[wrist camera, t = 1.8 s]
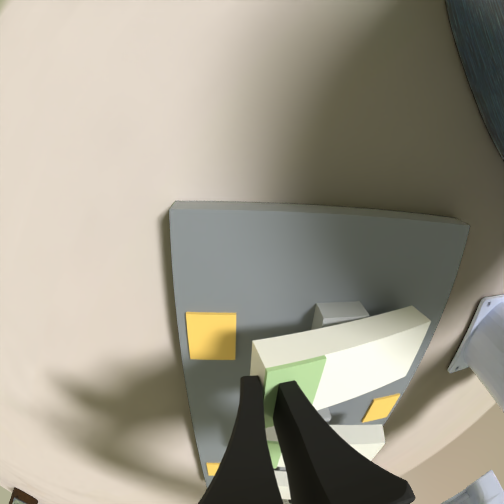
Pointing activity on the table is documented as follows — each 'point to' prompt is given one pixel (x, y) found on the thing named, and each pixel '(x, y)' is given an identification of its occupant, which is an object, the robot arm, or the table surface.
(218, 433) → the switch unit
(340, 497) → the robot arm
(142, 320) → the table surface
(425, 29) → the table surface
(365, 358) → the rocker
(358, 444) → the block
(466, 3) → the planter
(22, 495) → the olive oil
